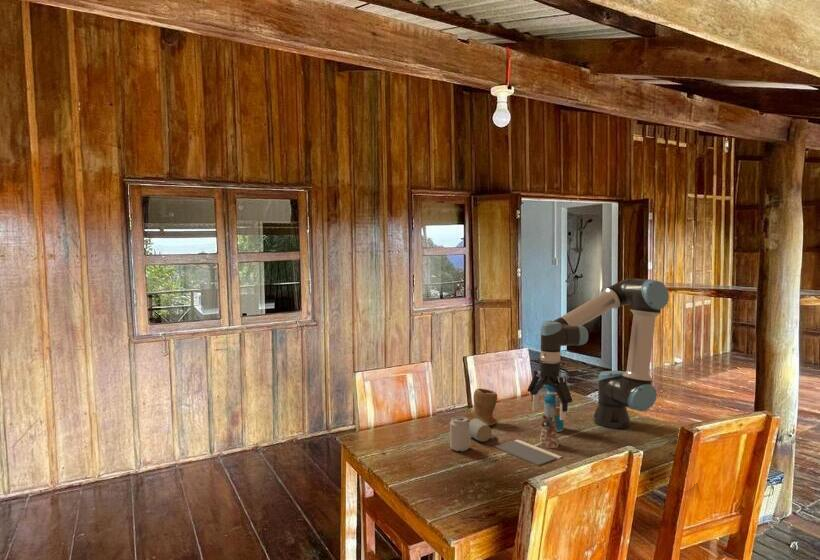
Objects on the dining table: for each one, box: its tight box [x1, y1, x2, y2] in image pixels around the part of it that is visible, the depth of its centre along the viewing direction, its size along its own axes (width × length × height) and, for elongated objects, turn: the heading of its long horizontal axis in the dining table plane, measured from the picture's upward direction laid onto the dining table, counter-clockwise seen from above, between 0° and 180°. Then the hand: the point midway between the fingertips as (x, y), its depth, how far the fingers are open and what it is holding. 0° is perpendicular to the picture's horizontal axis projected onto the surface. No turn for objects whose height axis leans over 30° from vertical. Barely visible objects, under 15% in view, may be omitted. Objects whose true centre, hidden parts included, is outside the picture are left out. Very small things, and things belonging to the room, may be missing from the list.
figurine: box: [539, 414, 559, 449], centre depth 211 cm, size 7×7×12 cm
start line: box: [513, 439, 562, 460], centre depth 207 cm, size 2×22×1 cm, turn 35°
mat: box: [494, 440, 558, 467], centre depth 203 cm, size 10×22×1 cm, turn 35°
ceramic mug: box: [468, 419, 496, 443], centre depth 219 cm, size 11×8×8 cm
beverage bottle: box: [543, 382, 564, 433], centre depth 229 cm, size 8×8×20 cm
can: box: [449, 416, 470, 452], centre depth 208 cm, size 8×8×12 cm
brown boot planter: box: [459, 388, 498, 427], centre depth 239 cm, size 15×12×15 cm
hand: (548, 414), depth 211 cm, fingers open, 13 cm apart
